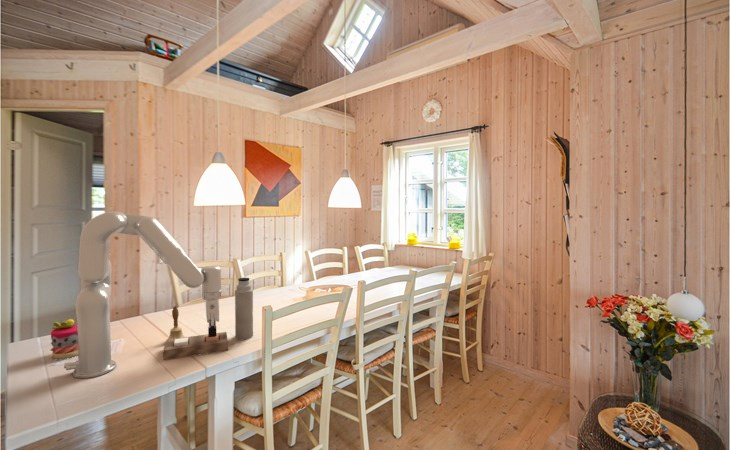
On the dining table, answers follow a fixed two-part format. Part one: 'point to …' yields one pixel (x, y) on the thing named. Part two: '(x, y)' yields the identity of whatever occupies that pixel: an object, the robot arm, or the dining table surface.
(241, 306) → the thermos bottle
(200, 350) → the block
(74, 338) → the cake
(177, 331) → the hand bell
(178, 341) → the white key
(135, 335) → the dining table surface
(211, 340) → the terracotta key
